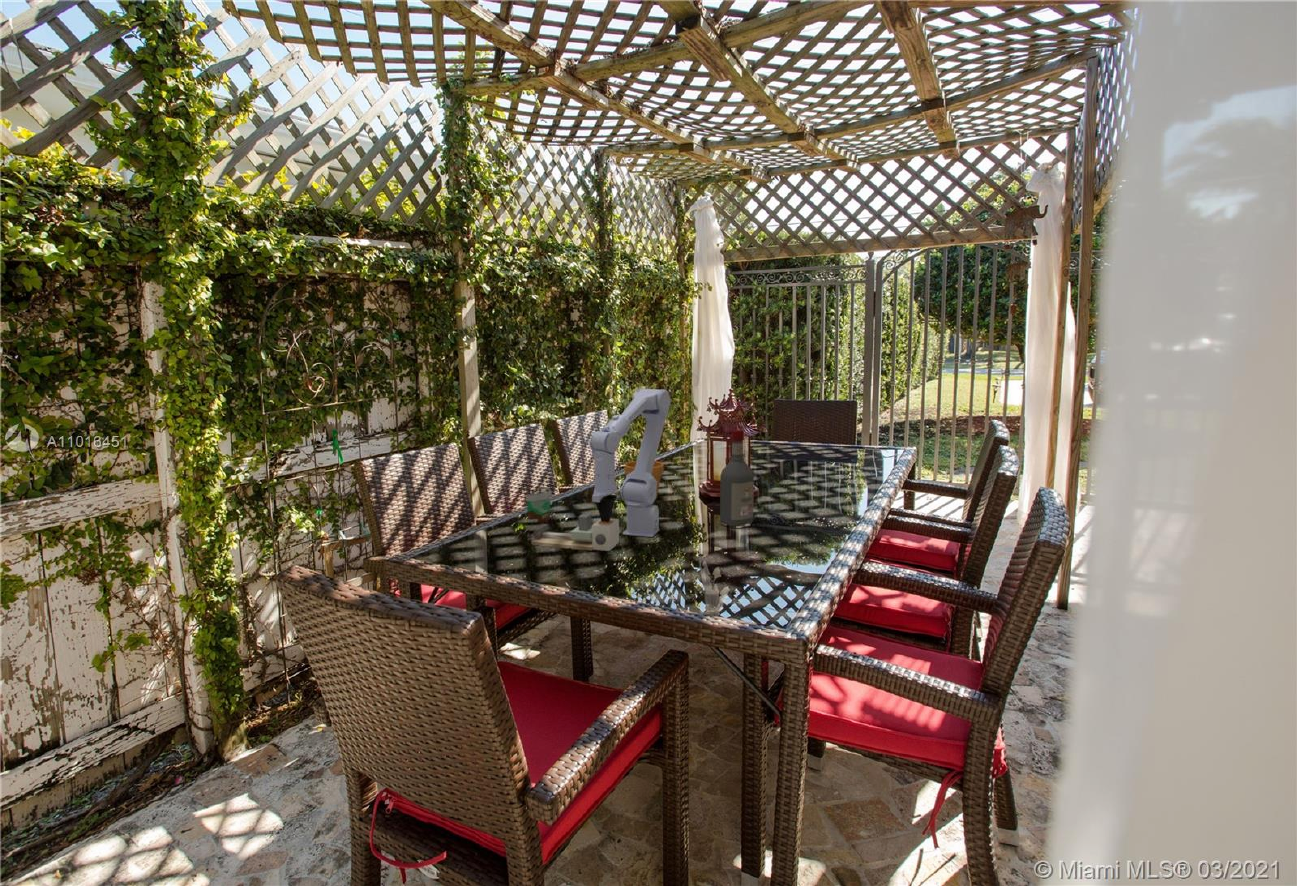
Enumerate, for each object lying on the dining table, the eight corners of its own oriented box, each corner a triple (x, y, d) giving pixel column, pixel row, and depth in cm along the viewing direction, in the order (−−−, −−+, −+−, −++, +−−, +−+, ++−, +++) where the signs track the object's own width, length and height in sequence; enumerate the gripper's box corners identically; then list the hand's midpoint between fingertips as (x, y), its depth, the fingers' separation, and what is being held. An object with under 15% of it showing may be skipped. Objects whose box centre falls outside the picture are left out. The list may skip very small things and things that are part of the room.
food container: (545, 526, 210) (544, 495, 208) (526, 525, 211) (525, 494, 210) (558, 516, 222) (557, 486, 220) (540, 515, 223) (539, 486, 221)
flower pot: (621, 502, 239) (620, 467, 237) (629, 493, 253) (628, 459, 251) (660, 504, 237) (660, 468, 235) (666, 494, 250) (666, 460, 248)
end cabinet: (618, 542, 193) (618, 519, 192) (608, 551, 185) (608, 527, 184) (602, 541, 195) (602, 517, 194) (592, 549, 187) (591, 525, 186)
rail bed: (604, 540, 196) (603, 526, 195) (591, 550, 186) (591, 536, 186) (546, 534, 201) (545, 522, 200) (531, 544, 192) (530, 531, 191)
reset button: (612, 527, 190) (612, 519, 190) (608, 530, 187) (608, 522, 187) (602, 526, 191) (602, 519, 191) (598, 529, 188) (598, 521, 188)
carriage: (599, 536, 194) (599, 513, 193) (590, 543, 188) (590, 519, 186) (580, 534, 196) (579, 511, 195) (570, 541, 189) (570, 517, 188)
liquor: (757, 525, 210) (759, 430, 205) (735, 530, 205) (736, 433, 200) (737, 518, 217) (738, 427, 213) (716, 523, 212) (716, 430, 208)
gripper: (609, 480, 179) (610, 529, 181) (626, 469, 192) (627, 515, 195) (584, 478, 181) (585, 527, 183) (603, 468, 195) (604, 513, 197)
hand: (605, 521), depth 189 cm, fingers closed, pressing on reset button
